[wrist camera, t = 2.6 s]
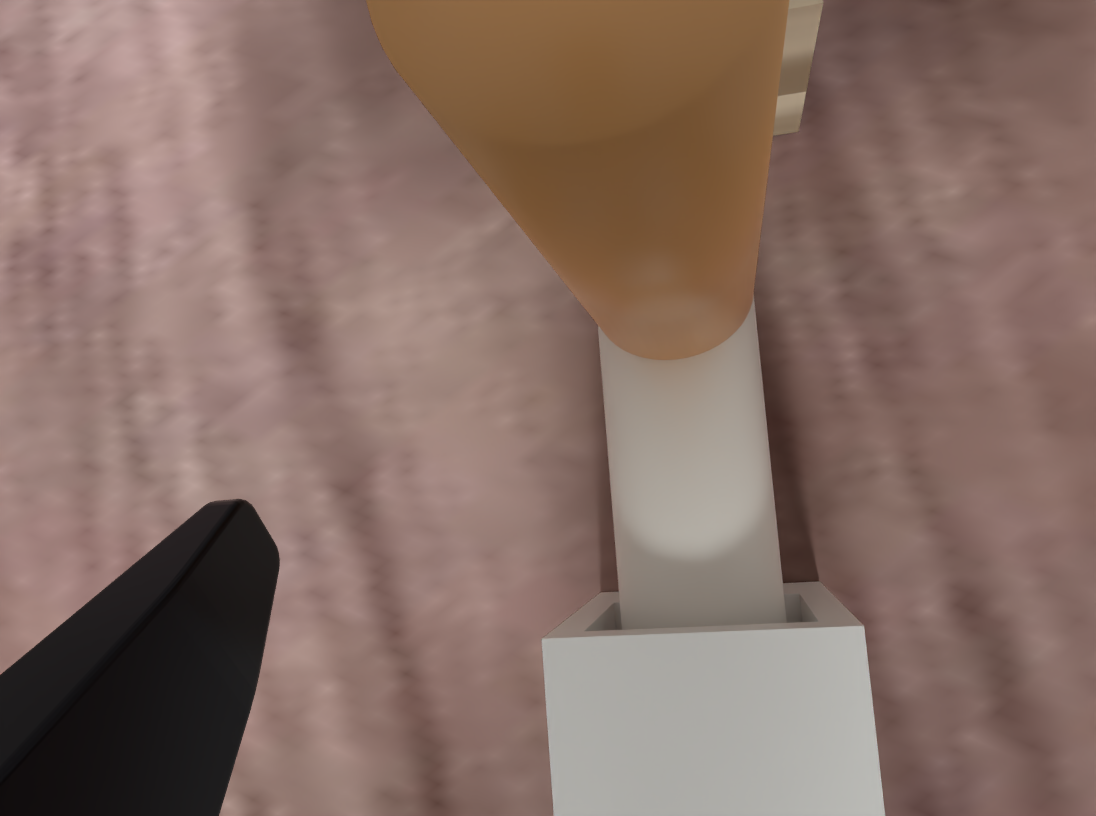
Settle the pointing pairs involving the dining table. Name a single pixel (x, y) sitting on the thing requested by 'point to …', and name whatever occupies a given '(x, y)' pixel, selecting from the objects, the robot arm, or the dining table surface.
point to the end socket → (796, 63)
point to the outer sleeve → (713, 714)
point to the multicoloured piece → (638, 250)
